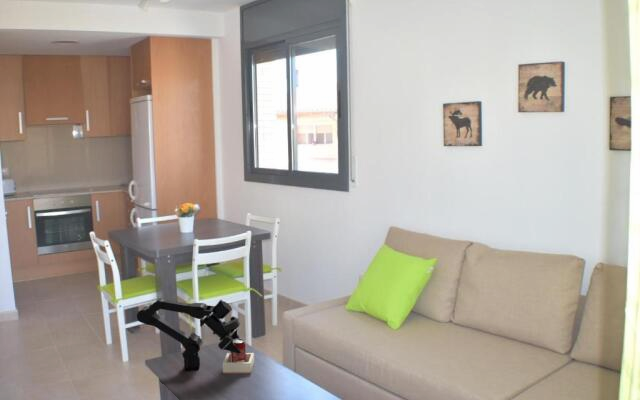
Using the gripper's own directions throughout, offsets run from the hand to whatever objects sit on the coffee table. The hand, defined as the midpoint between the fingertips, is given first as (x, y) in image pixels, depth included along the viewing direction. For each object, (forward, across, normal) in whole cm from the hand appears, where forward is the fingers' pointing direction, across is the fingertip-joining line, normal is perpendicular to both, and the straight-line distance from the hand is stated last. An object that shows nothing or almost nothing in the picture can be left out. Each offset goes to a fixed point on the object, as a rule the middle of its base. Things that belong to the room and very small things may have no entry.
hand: (241, 349), depth 264 cm
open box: (+5, 0, +7) cm, 9 cm away
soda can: (+5, 0, +7) cm, 8 cm away
